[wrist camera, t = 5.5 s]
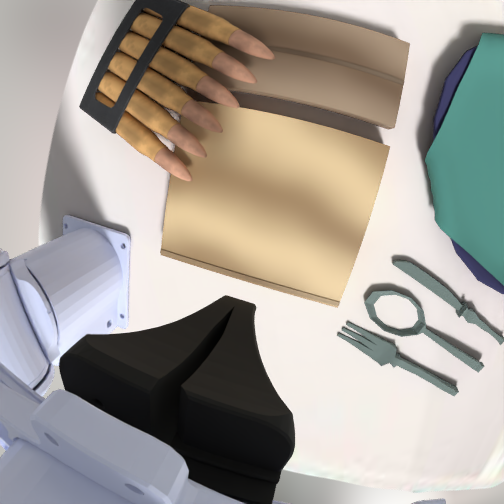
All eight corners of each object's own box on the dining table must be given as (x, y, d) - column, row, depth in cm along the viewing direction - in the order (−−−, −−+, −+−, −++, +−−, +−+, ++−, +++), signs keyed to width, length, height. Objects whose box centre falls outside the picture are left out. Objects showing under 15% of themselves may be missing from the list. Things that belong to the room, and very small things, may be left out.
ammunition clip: (144, -13, 14) (279, 40, 12) (159, -5, 15) (288, 50, 14) (78, 107, 18) (176, 194, 17) (95, 108, 20) (192, 190, 19)
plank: (336, 297, 21) (337, 308, 20) (169, 248, 23) (160, 255, 21) (384, 146, 17) (390, 146, 15) (193, 102, 18) (184, 99, 17)
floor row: (388, 129, 17) (394, 127, 15) (197, 86, 18) (188, 82, 17) (403, 50, 14) (409, 43, 13) (217, 13, 16) (209, 4, 14)
